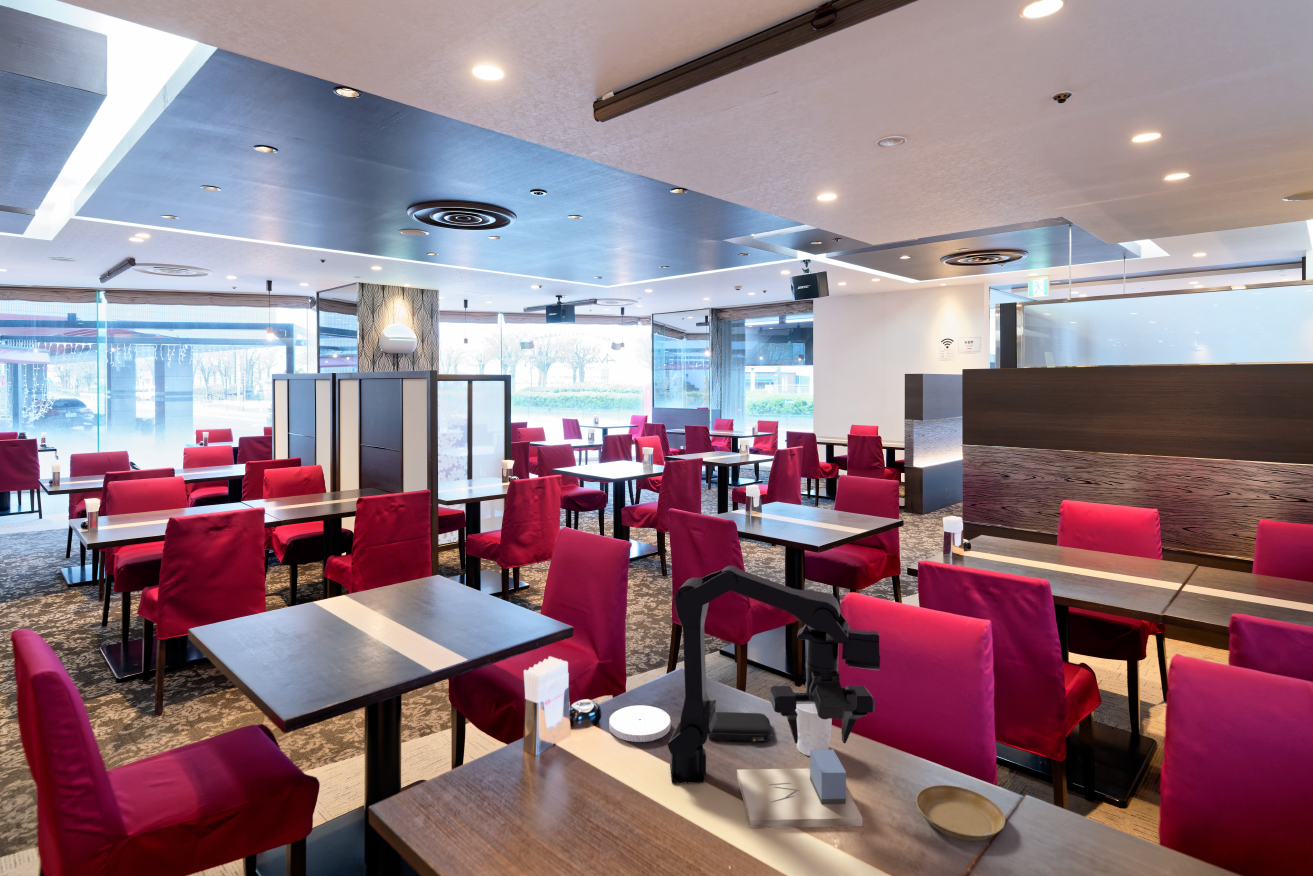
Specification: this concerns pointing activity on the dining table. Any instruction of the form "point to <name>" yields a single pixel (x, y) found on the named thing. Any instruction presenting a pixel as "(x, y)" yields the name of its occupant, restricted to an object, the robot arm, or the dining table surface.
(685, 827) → the dining table surface
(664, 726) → the plastic lid
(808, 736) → the white cup
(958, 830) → the plant saucer
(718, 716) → the carrying case or bag
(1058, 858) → the dining table surface
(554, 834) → the dining table surface
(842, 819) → the board
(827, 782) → the block
